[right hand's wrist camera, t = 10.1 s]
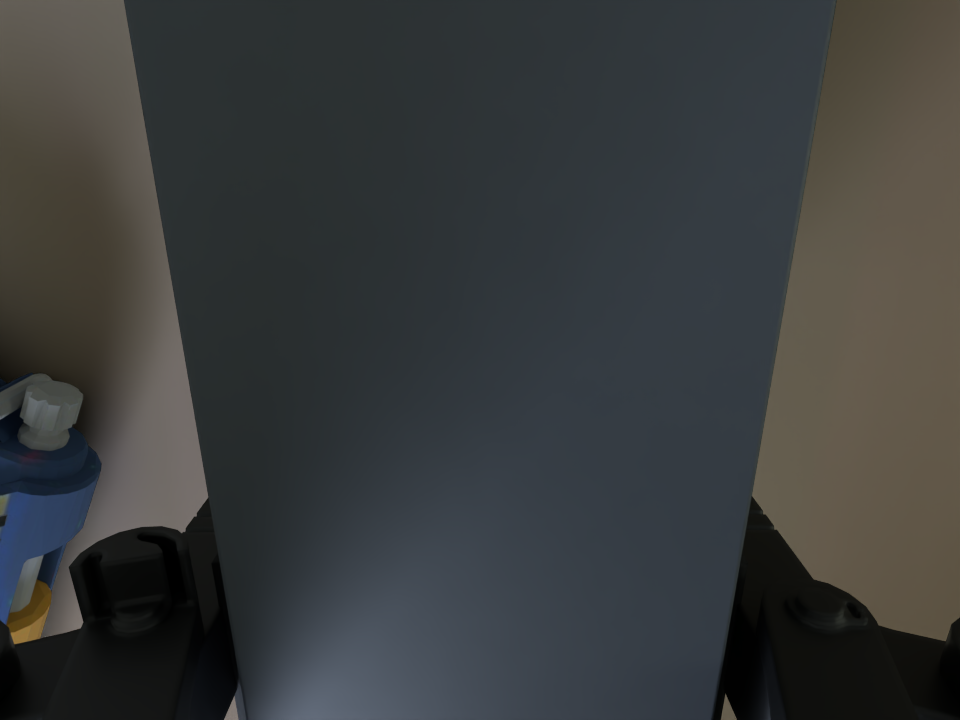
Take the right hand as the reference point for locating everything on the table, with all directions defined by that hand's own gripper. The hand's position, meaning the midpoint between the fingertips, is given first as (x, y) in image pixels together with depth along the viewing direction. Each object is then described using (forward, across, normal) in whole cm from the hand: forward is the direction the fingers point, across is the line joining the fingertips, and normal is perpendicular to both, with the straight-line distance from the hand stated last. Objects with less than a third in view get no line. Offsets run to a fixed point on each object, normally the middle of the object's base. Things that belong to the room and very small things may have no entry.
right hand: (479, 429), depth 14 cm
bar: (+1, 0, -23) cm, 23 cm away
